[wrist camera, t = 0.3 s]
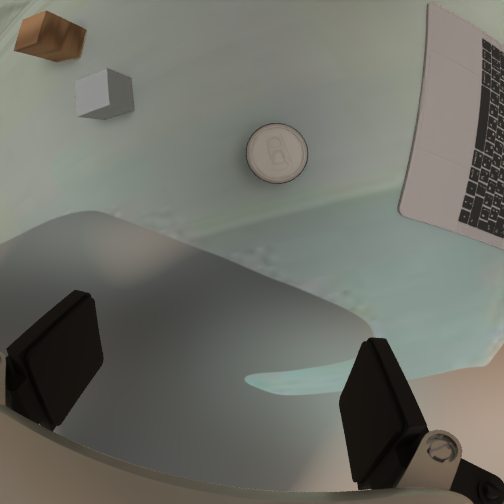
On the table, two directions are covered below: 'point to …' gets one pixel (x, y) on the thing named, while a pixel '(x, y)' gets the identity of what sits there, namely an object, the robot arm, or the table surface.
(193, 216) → the table surface
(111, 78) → the slate block
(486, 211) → the laptop
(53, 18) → the walnut block
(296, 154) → the beverage can
